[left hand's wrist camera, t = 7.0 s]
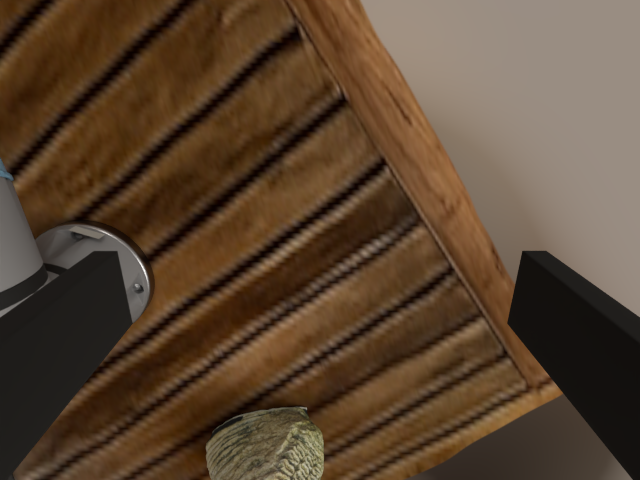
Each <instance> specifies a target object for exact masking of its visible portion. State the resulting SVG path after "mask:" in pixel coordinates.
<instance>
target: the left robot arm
mask: <svg viewBox="0 0 640 480" xmlns="http://www.w3.org/2000/svg"><path fill="white" fill-rule="evenodd" d="M12 181H13V177H12V175H11V174H10V173H8V172H7V171H6V169H5V167H4V164H3V162H2V160H1V158H0V480H14V477H13V474H12V473H13V472H14V470H15V469H16V468H17V467H18V466H19V464H20V463H21V462H22V461H23V459H24V458H25V457H26V456H27V454H28V453H29V452H30V451H31V449H32V448H33V447H34V446H35V444H36V443H37V442H38V441H39V439H40V438H41V437H42V436H43V434H44V433H45V432H46V431H47V429H48V428H49V427H50V426H51V424H52V423H53V422H54V421H55V419H56V418H57V417H58V416H59V414H60V413H61V412H62V411H63V409H64V408H65V407H66V406H67V405H68V403H69V402H70V401H71V400H72V398H73V397H74V396H75V395H76V393H77V392H78V391H79V390H80V388H81V387H82V386H83V385H84V383H85V382H86V381H87V380H88V378H89V377H90V376H91V375H92V373H93V372H94V371H95V370H96V368H97V367H98V366H99V365H100V363H101V362H102V361H103V360H104V358H105V357H106V356H107V355H108V353H109V352H110V351H111V350H112V348H113V347H114V346H115V345H116V343H117V342H118V341H119V340H120V339H121V337H122V336H123V335H124V334H125V332H126V331H127V330H128V329H129V327H130V326H131V325H132V324H133V323H134V322H135V321H136V320H137V319H138V318H139V317H140V316H141V315H142V313H143V312H144V311H145V310H146V308H147V307H148V305H149V304H150V302H151V300H152V297H153V293H154V275H153V271H152V268H151V265H150V263H149V261H148V259H147V257H146V256H145V254H144V253H143V251H142V250H141V249H140V247H139V246H138V245H137V244H136V243H135V242H134V241H133V240H132V239H130V238H129V237H128V236H126V235H125V234H124V233H122V232H120V231H119V230H117V229H115V228H113V227H111V226H108V225H106V224H102V223H99V222H94V221H85V220H79V221H70V222H66V223H63V224H60V225H58V226H56V227H54V228H52V229H50V230H48V231H46V232H44V233H43V234H41V235H40V236H39V237H38V238H36V239H34V237H33V234H32V232H31V229H30V227H29V224H28V222H27V219H26V217H25V214H24V211H23V209H22V206H21V204H20V201H19V199H18V196H17V194H16V191H15V188H14V186H13V183H12ZM507 324H508V325H509V326H510V327H511V329H512V330H513V331H514V332H515V334H516V335H517V336H518V337H519V339H520V340H521V341H522V342H523V344H524V345H525V346H526V347H527V348H528V350H529V351H530V352H531V353H532V355H533V356H534V357H535V358H536V360H537V361H538V362H539V363H540V365H541V366H542V367H543V368H544V370H545V371H546V372H547V373H548V375H549V376H550V377H551V378H552V380H553V381H554V382H555V383H556V385H557V386H558V387H559V388H560V390H561V391H562V392H563V393H564V395H565V396H566V397H567V398H568V400H569V401H570V402H571V403H572V405H573V406H574V407H575V408H576V409H577V411H578V412H579V413H580V414H581V416H582V417H583V418H584V419H585V421H586V422H587V423H588V424H589V426H590V427H591V428H592V429H593V431H594V432H595V433H596V434H597V436H598V437H599V438H600V439H601V441H602V442H603V443H604V444H605V446H606V447H607V448H608V449H609V451H610V452H611V453H612V454H613V456H614V457H615V458H616V459H617V461H618V462H619V463H620V464H621V466H622V467H623V468H624V469H625V470H626V472H627V473H628V474H629V475H630V477H631V478H632V479H633V480H640V317H638V316H637V315H636V314H634V313H633V312H631V311H630V310H629V309H627V308H626V307H624V306H623V305H621V304H620V303H619V302H617V301H616V300H615V299H613V298H612V297H610V296H609V295H607V294H606V293H605V292H603V291H602V290H600V289H599V288H598V287H596V286H595V285H593V284H592V283H591V282H589V281H588V280H586V279H585V278H584V277H582V276H581V275H579V274H578V273H576V272H575V271H574V270H572V269H571V268H570V267H568V266H567V265H565V264H564V263H562V262H561V261H560V260H558V259H557V258H555V257H554V256H553V255H551V254H550V253H548V252H547V251H522V256H521V260H520V265H519V270H518V275H517V280H516V284H515V289H514V294H513V299H512V303H511V308H510V313H509V318H508V322H507Z"/></svg>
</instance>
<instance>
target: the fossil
mask: <svg viewBox="0 0 640 480" xmlns="http://www.w3.org/2000/svg"><path fill="white" fill-rule="evenodd" d="M323 446H324V445H323V437H322V432H321V431H320V429H319V428H318V427H317V426H316V425H314V424H313V423H312V422H311V420H309V417H308V414H307V408H305V407H287V408H274V409H270V410H259V411H255V412H250V413H246V414H242V415H239V416H236V417H233V418H232V419H230V420H228V421H226V422H225V423H224V424H223V425H220V426H218V427H217V428H216V429H215V430H214V431H213V432H212V436H211V438H210V440H209V441H208V442H207V443H206V451H207V454H206V460H207V467H208V470H209V474H210V477H211V479H212V480H321V479H320V478H321V475H322V473H323V468H324V467H323V464H324V463H323V460H324V452H323Z"/></svg>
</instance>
